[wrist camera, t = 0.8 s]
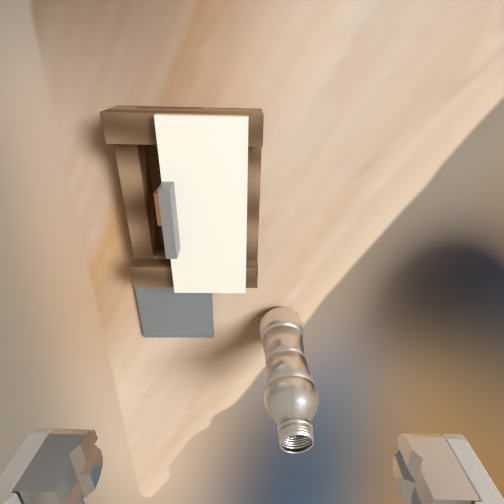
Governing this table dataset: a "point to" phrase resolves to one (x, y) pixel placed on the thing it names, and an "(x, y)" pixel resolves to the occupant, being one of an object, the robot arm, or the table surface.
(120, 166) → the wooden box
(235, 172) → the lid
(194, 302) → the coaster
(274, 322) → the plastic bottle
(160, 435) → the table surface
